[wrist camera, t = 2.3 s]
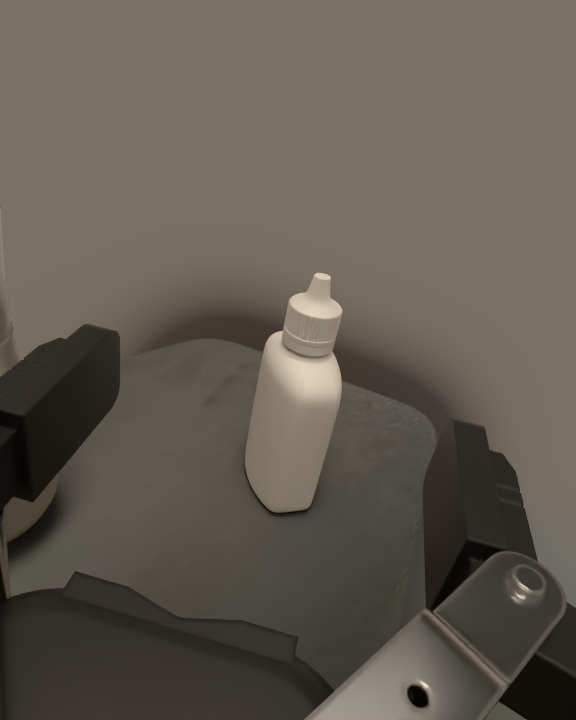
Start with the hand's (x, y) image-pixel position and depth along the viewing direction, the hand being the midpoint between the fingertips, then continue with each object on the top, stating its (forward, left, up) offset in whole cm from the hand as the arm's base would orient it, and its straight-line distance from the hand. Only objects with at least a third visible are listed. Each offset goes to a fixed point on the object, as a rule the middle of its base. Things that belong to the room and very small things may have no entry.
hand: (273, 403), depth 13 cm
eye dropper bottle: (0, +11, -13) cm, 18 cm away
